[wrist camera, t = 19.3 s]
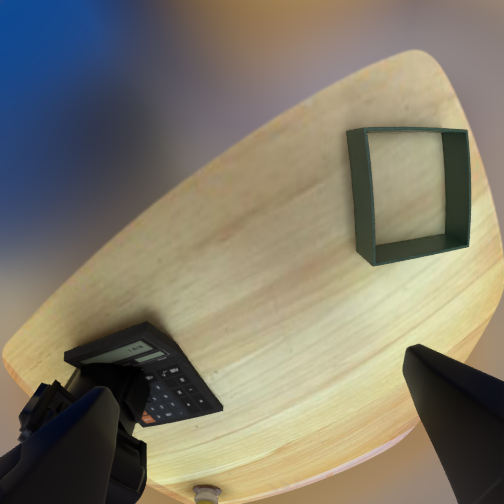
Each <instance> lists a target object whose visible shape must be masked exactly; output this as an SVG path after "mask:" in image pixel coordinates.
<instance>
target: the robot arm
mask: <svg viewBox="0 0 504 504" xmlns="http://www.w3.org/2000/svg"><path fill="white" fill-rule="evenodd" d="M403 375H404V378H405V380H406V383H407V386H408V388H409V391H410V394H411V396H412V399H413V402H414V405H415V407H416V410H417V413H418V415H419V417H420V419H421V421H422V423H423V425H424V427H425V429H426V432H427V434H428V436H429V438H430V440H431V442H432V444H433V446H434V448H435V451H436V453H437V455H438V457H439V459H440V462H441V464H442V466H443V468H444V471H445V473H446V475H447V477H448V480H449V482H450V484H451V487H452V489H453V491H454V494H455V496H456V499H457V502H458V504H504V381H502V380H499V379H497V378H495V377H493V376H491V375H488V374H486V373H484V372H481V371H479V370H477V369H474V368H472V367H470V366H468V365H466V364H463V363H461V362H459V361H457V360H454V359H452V358H450V357H448V356H445V355H443V354H441V353H439V352H437V351H434V350H432V349H430V348H428V347H426V346H423V345H421V344H416V345H413V346H409V347H408V348H407V349H406V352H405V358H404V363H403ZM150 392H151V389H150V387H149V385H148V383H147V381H146V378H145V376H144V374H143V372H142V370H141V369H140V368H138V367H137V366H121V365H117V364H112V363H89V364H86V365H84V366H82V367H81V368H80V369H78V368H76V369H75V371H74V372H73V374H72V376H71V377H70V379H69V380H68V382H67V383H66V385H65V387H63V386H61V383H59V382H58V381H57V380H56V379H55V381H54V382H53V383H52V385H50V384H44V383H41V384H40V386H39V387H38V389H37V390H36V392H35V393H34V394H33V396H32V397H31V399H30V400H29V402H28V403H27V404H26V406H25V407H24V409H23V410H22V412H21V413H20V415H19V420H20V424H21V428H20V432H21V434H20V436H19V438H18V441H20V442H21V443H20V444H19V445H17V446H16V447H15V448H13V449H12V450H11V451H9V452H8V453H6V454H5V455H3V456H2V457H0V504H135V503H136V502H137V501H138V500H139V498H140V497H141V495H142V493H143V491H144V489H145V486H146V482H147V443H145V442H143V441H141V440H138V439H136V438H134V437H133V436H132V433H133V430H134V427H135V424H136V423H140V421H141V420H142V416H143V413H144V410H145V407H146V404H151V403H153V399H152V397H151V395H150ZM148 399H150V401H148Z"/></svg>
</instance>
